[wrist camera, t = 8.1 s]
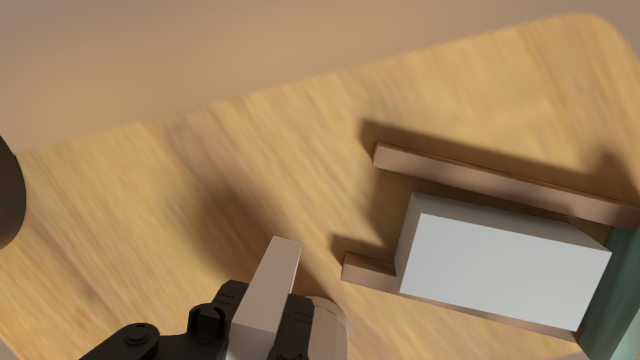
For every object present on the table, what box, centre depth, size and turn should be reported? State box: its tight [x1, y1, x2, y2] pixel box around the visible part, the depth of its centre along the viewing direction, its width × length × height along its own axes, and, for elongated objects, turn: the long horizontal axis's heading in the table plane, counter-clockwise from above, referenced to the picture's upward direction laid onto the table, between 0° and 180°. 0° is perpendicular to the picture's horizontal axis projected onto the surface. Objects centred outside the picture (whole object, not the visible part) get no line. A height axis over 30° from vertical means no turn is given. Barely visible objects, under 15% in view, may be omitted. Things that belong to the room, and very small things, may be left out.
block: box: [394, 191, 612, 332], centre depth 26 cm, size 12×6×5 cm, turn 80°
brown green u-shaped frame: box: [341, 141, 640, 360], centre depth 26 cm, size 20×11×5 cm, turn 77°
